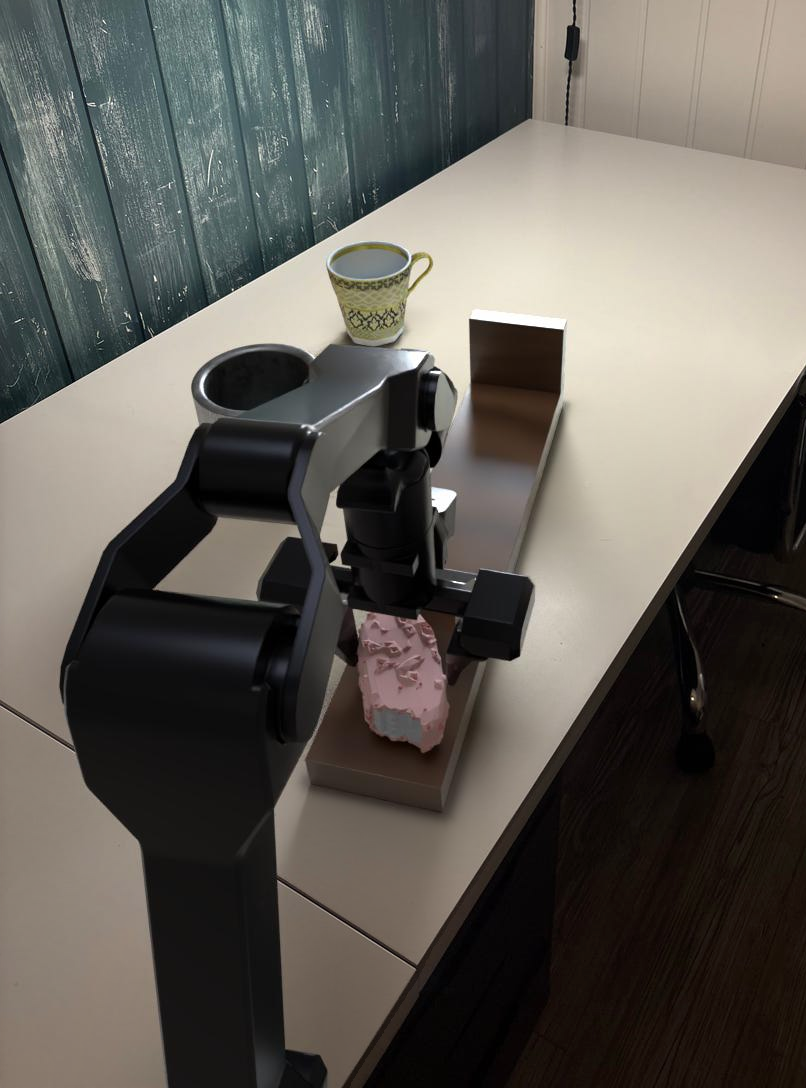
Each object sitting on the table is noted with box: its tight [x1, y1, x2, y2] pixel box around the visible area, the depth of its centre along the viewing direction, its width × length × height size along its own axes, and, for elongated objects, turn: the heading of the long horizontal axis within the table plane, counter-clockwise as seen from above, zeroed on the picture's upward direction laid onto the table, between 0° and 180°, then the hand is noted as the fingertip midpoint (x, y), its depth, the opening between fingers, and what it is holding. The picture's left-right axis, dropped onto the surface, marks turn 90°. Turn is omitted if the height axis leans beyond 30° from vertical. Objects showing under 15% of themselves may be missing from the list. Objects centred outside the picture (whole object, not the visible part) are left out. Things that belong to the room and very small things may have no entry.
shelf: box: [304, 309, 568, 813], centre depth 83 cm, size 50×10×11 cm, turn 166°
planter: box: [190, 342, 316, 426], centre depth 94 cm, size 12×13×11 cm
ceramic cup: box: [325, 240, 434, 348], centre depth 115 cm, size 13×10×10 cm
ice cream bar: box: [357, 612, 450, 753], centre depth 71 cm, size 6×4×15 cm
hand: (403, 671), depth 71 cm, fingers closed on ice cream bar, 7 cm apart
